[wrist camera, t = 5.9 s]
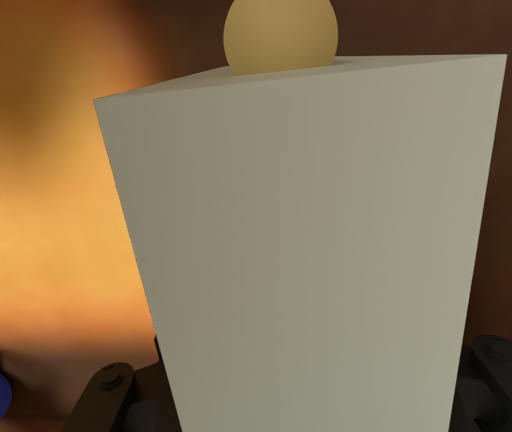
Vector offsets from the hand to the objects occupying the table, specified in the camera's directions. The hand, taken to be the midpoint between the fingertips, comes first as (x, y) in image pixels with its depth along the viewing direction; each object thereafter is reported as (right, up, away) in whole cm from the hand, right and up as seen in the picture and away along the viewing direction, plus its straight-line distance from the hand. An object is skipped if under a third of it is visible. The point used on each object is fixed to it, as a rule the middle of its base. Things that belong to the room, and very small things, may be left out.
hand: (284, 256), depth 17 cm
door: (0, +1, +3) cm, 3 cm away
